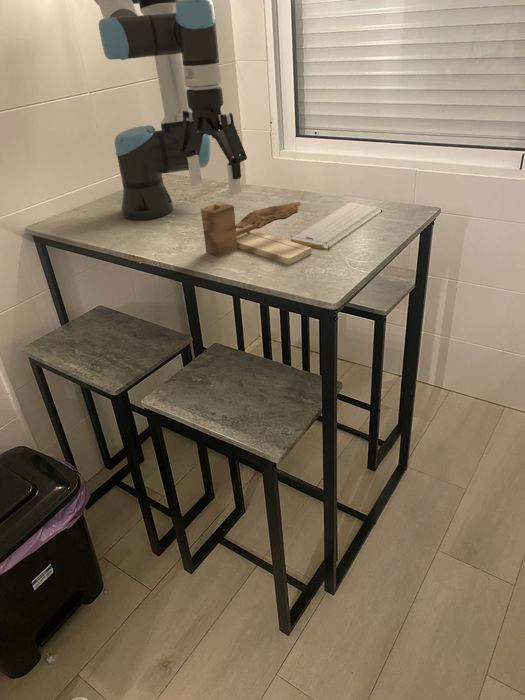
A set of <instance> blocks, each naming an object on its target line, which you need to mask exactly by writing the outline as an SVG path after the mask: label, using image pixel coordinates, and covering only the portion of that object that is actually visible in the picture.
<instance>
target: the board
mask: <svg viewBox="0 0 525 700" xmlns="http://www.w3.org/2000/svg"><path fill="white" fill-rule="evenodd" d="M237 246H238V249H240V250H244V251H246V252H248V253H249V252H250V253H252V254H255V255H258V256H261V257H264V258H267V259H269V260H270V259H271V260H273V261H277V262H279V263H281V264H285V265H288V266H290V265H292V264H294V263H296V262H298V261H300V260H302V259H303V258H306V257H307V256H308V257H309V255H311V254H312V251H313V250H312V247H311V246H306V245H301V244H298V243H294V242H291V240H287V239H284V238H282V237H281V238H279V237H277V236H273V235H270V234H267V233H264V232H260V231H256V230H255V229H254V230H251V231H250V233H248V232H247V233H244V234H242V235H240V236H237Z"/></svg>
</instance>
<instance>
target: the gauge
mask: <svg viewBox="0 0 525 700" xmlns="http://www.w3.org/2000/svg"><path fill="white" fill-rule="evenodd" d="M200 214H201V220H202V221H201V222H202V230H203V238H204V245H205V252H207V254H209V255H213V256H214V255H215V256H214V257H217V256H218V258H222V257H224V256H226V255H228V254H230V253H233V252H235V251H237V250H238V249H239V248H238V246H237V236H240V235H242V234H244V233H247V232H248V233H250V231H251V230H254V231H255V228H254V225H248V226H246V227H244V228H238V229H237V228H236V215H235V207H234V205H233V204H228V203H226V202H225V203H224V202H221V201H219V202H217V203H214V204H211V205H207V206H206V207H202V208H200Z"/></svg>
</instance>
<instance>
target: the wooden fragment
mask: <svg viewBox="0 0 525 700" xmlns="http://www.w3.org/2000/svg"><path fill="white" fill-rule="evenodd" d="M300 205H301V202H300V201H296V202H290V203H285V204H282V205H280V204H279V205H274V206H269V207H264V208H262V209H256V210H253V211H252V212H249V213H248V214H247V215H245V217H243V218H242V219H240V221H239V222H238V223H235V225H236V229H237V228H238V229H241V228H244V227H246V226H248V225H254V229H261V228H262V227H263V226H266V225H267V224H269V223H272V222H274V221H277V220H281V219H285V218H288V217H289V216H291V215H293V214H295V213H298V212H299V206H300Z"/></svg>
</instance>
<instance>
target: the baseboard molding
mask: <svg viewBox="0 0 525 700" xmlns="http://www.w3.org/2000/svg"><path fill="white" fill-rule="evenodd" d="M380 209H381V207H379V206H373V205H367V204H361V203H356V202H348V203H347V204H345V205H343V206H342V207H340V208H338V209H337V210H336V211H334V212H332V213H331V214H329V215H327V216H325V217H324V218H322V219H320V220H319V221H318V222H315V223H314V224H312V225H311V226H309V227H307V228H306V229H305V230H303V231H301V232H299V233H298V234H296V235H294V236H293V235H291V237H290V241H291V242H294V243H298V244H301V245H304V246H308V247H311V248H317V249H320V250H322V249H323V250H326V251H330V249H332V247H334V246H335V245H337V244H338V243H339V242H341V241H343V240H344V239H345V238H347V237H348V236H349V235H351V234H352V233H353V232H355V231H356V230H359V228H361V227H362V226H364V225H365V224H366V223H368V222H370V221H371V220H372V219H374V218H375V217H376V215H377V214H378V213H379V212H381V211H380ZM381 213H382V212H381ZM378 215H379V214H378ZM378 215H377V216H378ZM373 217H374V218H373ZM369 220H370V221H369Z"/></svg>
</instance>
